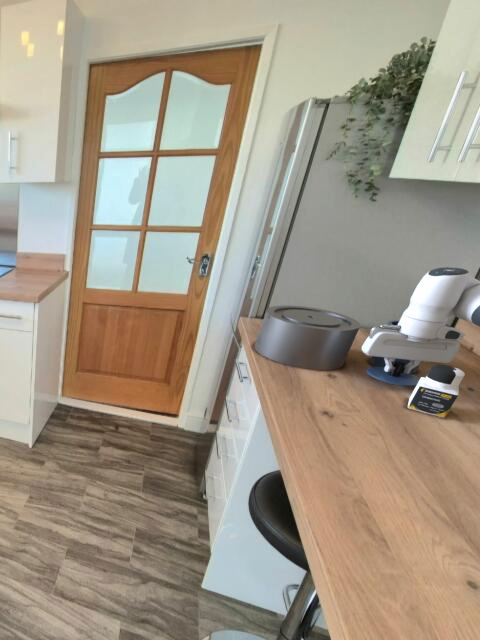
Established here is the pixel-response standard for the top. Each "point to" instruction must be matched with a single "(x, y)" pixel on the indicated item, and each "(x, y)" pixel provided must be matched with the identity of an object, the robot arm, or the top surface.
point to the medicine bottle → (437, 390)
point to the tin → (381, 362)
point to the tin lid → (394, 375)
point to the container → (306, 337)
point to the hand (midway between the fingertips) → (395, 372)
